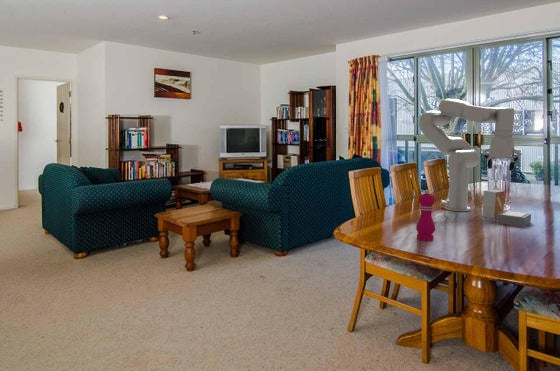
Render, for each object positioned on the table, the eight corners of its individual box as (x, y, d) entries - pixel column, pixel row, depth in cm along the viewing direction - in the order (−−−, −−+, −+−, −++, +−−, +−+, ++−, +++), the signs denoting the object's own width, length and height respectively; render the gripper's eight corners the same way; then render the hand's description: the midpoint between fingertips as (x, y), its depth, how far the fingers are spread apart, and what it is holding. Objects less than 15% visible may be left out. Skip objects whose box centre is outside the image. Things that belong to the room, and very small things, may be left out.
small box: (494, 218, 207) (496, 192, 205) (481, 216, 212) (483, 190, 210) (503, 216, 211) (505, 190, 209) (491, 214, 216) (492, 189, 214)
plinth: (497, 222, 198) (497, 214, 197) (504, 219, 206) (505, 210, 205) (523, 226, 190) (524, 217, 190) (530, 222, 198) (531, 213, 198)
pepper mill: (418, 236, 176) (420, 187, 173) (436, 238, 172) (439, 189, 169) (413, 239, 170) (415, 190, 167) (431, 242, 166) (434, 191, 163)
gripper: (481, 133, 208) (478, 168, 211) (520, 134, 196) (517, 171, 199) (487, 133, 213) (484, 167, 216) (526, 134, 201) (522, 170, 204)
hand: (500, 169), depth 207 cm, fingers open, 9 cm apart
